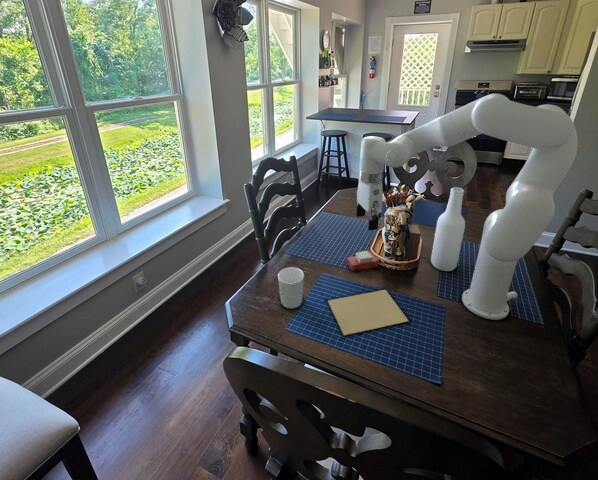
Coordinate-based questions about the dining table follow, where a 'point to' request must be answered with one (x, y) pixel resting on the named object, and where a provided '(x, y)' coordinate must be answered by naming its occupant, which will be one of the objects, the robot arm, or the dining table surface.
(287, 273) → the white cup
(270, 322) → the dining table surface
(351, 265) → the toy car
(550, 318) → the dining table surface
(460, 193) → the alcohol
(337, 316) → the mat
